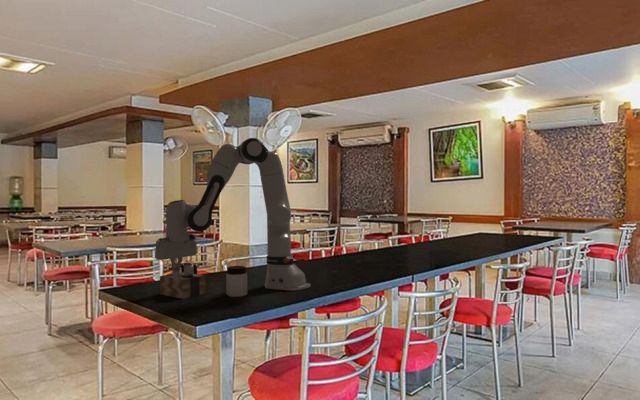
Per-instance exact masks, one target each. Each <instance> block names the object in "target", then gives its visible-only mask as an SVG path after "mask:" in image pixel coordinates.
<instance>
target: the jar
mask: <svg viewBox="0 0 640 400" xmlns="http://www.w3.org/2000/svg"><path fill="white" fill-rule="evenodd" d="M225 279H226V283H225V286H226V290H225V291H226V296H228V297H230V298H233V297H234V298H235V297H236V298H237V297H238V298H239V297H240V298H241V297H244V296H246V295H248V273H247V266H246V265H245V266H244V265H233V266H232V265H231V266H228V267H227V268H226V275H225Z"/></svg>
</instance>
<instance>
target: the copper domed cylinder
mask: <svg viewBox="0 0 640 400" xmlns="http://www.w3.org/2000/svg"><path fill="white" fill-rule="evenodd" d="M183 265H184V278H191V277H194V272H193V265H195V264H194V262H193V261H192V262H191V261H186V262H183Z"/></svg>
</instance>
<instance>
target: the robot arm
mask: <svg viewBox="0 0 640 400" xmlns="http://www.w3.org/2000/svg"><path fill="white" fill-rule="evenodd" d="M211 160H212V161H211V162H210V164H209V166H208V169H207V172H206V181H207V183H206V187H205V190H204V192H203V194H202V197H201V199H200V201H199V202H198V204H197V206H195V205H193V204H191V203H189V202H187V201H186V200H184V199H179V200H174V201H170V202H168V204H167V205H166V209H165V223H166V227H165V237H160V238H158V239H157V240H156V241H155V249H154V258H155V260H157V261H163V260H164V261H166V260H170V262H171V264H172V268H180V267H181V264H182V262H183V258H187V257H195V256H196V255H197V253H198V243H197V240H196V239H197V235H196V234H194V233H190V232H188V231H187V229H188V228H189V229H192V231H195V232H204V231H206V230H207V229H208V228H209V227H210V226H211V225H212V219H213V217H212V216H213V210H214V209H215V208H214V207H215V205H216V203H217V201H218V199H219V198H220V195H221V193H222V191H223V190H224V188H225V186H227V184H228V182H229V181H230V179H231V178H232V176H233V174H234V173H235V171H236V168H237V166H238V165H239V164H244V165H252V164H255V165H257V167H258V169H259V174H260V182H261V189H262V193H263V200H264V204H265V205H264V206H265V211H266V227H267V228H266V229H267V230H266V231H267V236H266V237H267V244H266V245H267V255H266V265H267V267H266V277H265V281H264V285H263V286H264V287H265V289H271V290H280V291H282V290H283V291H292V292H293V291H295V292H296V291H300V290H305V289H308V288H310V287H311V283H307V281H306V275H305V273H304V272H303V270H301V269H300V268H299V267H298V266H297V265H296V264H295V262H294V261H295V260H296V257H293V256H292V250H291V249H292V247H291V246H292V245H291V244H292V243H291V241H292V240H291V219H292V211H291V206H290V201H289V196H288V191H287V187H286V181H285V174H284V169H283V168H284V167H283V165H282V161H281V159H280V157H279V154H278V153H277V152H275V151H272V150H271V151H269V150H268V148H267V147H266V145H264V142H262V140H260V139H258V138H257V137H249V138H247V139H245V140H244V141H242V142H241V143H240V144H239V145H238V146H235V145H233V144H230V143H224V144H223V145H221V146H220V148H219V149H218V150H217V152H216V153H215V155H214V156H213V158H212V159H211ZM176 261H177V262H176Z"/></svg>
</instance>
